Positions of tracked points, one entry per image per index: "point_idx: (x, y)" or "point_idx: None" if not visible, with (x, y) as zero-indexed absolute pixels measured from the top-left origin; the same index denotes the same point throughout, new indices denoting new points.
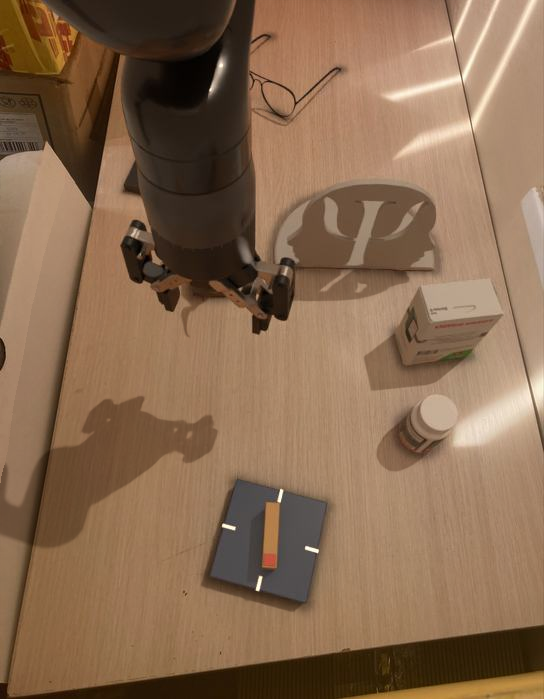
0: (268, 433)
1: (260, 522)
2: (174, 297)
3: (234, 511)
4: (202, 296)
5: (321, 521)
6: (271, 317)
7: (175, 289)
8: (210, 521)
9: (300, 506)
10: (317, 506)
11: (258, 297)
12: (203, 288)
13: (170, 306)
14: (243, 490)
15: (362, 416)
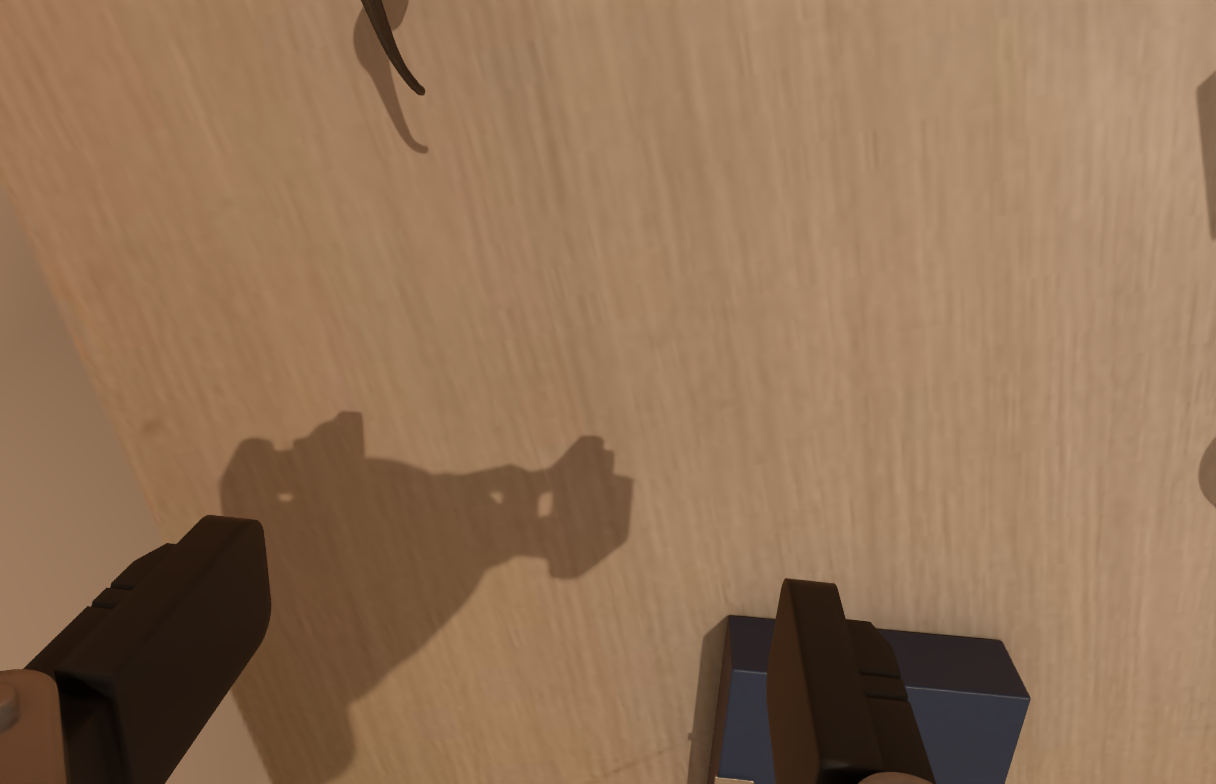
0: (804, 462)
1: None
2: (222, 631)
3: (742, 746)
4: (408, 85)
5: (1011, 743)
6: (891, 656)
7: (194, 633)
8: (672, 705)
9: (944, 717)
10: (998, 710)
11: (819, 782)
12: (395, 55)
13: (227, 686)
14: (759, 694)
15: (1159, 351)
